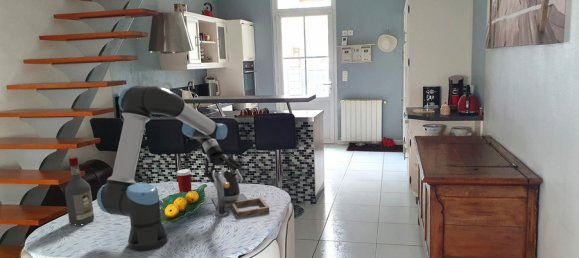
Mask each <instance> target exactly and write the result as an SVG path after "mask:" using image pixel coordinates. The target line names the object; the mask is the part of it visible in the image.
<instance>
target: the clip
mask: <svg viewBox="0 0 579 258" xmlns="http://www.w3.org/2000/svg"><path fill="white" fill-rule="evenodd" d="M224 172H225V171H223V170H220V171H215V172H214V171H213V175H214V177H215V178H216V177H218V179H219V180H220V182H221V183H222V185H223V188H229V182H227V181H226V179H225V178H224Z"/></svg>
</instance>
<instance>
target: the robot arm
mask: <svg viewBox="0 0 579 258" xmlns="http://www.w3.org/2000/svg"><path fill="white" fill-rule="evenodd" d="M118 105H119V109H120V111H122V112H121V116H122V117H123V119H124V121H123V125H122V128H121V133H120V139H119V143H118V148H117V152H116V156H115V160H114V165H113V170H112V174H111V176H109V177H107V179H106V183H105V184H104V185H102V186H101V187H100V188H99V189H98V192H97V194H96V201H97V202H96V203H97V206H98V207H99V209H100V210H101V211H102V212H103V213H106V214H107V213H108V214H109V215H113V216H114V215H115V216H116V215H117V216H122V217H129V220H130V228H129V229H130V231H129V235H128V239H127V245H128V248H129V249H130V250H133V251H138V252H140V251H141V252H144V251H151V250H154V249H158V248H160V247H163V246H164V245H165V244H167V242H168V240H169V236H168V232H167V230H166V228H165V226H164V224H163V222H162V213H161V203H160V195H159V189H158V188H157V187H156V186H155V185H153V184H151V183H146V182H145V183H140V182H139V183H138V182H136V180H135V175H136V170H137V165H138V160H139V157H140V151H141V145H142V141H143V136H144V132H145V128H146V123H148V122H149V121H151V116H152V115H164V116H167V117H169V118H173V119H174V118H176V119H177V120H179V121H181V122H183V124H182V127H181V132H182V133H183V135H184V136H187V137H188V138H192V139H195V140H198V141H199V142H200V144H201V146H202V147H203V150H204V152H205V154H206V156H207V157H205V158H204V160H203V163H204V175H203V177H204V178H207V179H209V181H210V182H211V183H212V184H213V186H214V188H215V189H216V190H217V185H216V177H214V169H215V167H216V166H226V167H227V168H230V169H232V170H234V174H235V173H236V174H237V175H236V178H237V180H238V182H239V183H242V182H243V181H244V178H243V176H242V171H241V168H242V164H240V163H239V162H238V161H237V160H236V159H234V158H233V156H231V155H230V153H226V154H224V153H223V150H222V148H221V147H220V145H219V143H218V141H217V140H224V139H226V138H227V136H228V126H227V125H226V124H225V123H217V122H216V121H214V120H212V119H211V118H209V117H207V116H206V115H204V114H203V113H201V112H200V111H199V110H197V109H195V108H194V107H192V106H190V105H189V104H187V103H186V102H185V99H184V98H182V97H181V96H179V95H178V94H176V93H174V91H171V90H169V89H166V88H165V87H162V86H157V85H151V86H150V85H146V86H145V85H133V86H128V87H126V88H124V89H123V90H122V91H121V93H120V94H119V96H118ZM209 163H211V164H212V165H211V167H210V170H209Z"/></svg>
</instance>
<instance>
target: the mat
mask: <svg viewBox="0 0 579 258" xmlns="http://www.w3.org/2000/svg"><path fill="white" fill-rule="evenodd" d="M247 199H248V198H247V196H246V195H245V194H244V193H243V192H242V193H240V194H239V197H238V198H237V199H236V200H235V201H241V200H247ZM211 200H212V202H213V204H214V206H215V208H216V210H217V211H219V210H218V197H217V196H216V197H212V198H211ZM235 201H233V202H235ZM229 208H231V202H225V209H229Z"/></svg>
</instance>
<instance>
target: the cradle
mask: <svg viewBox="0 0 579 258" xmlns="http://www.w3.org/2000/svg"><path fill="white" fill-rule="evenodd" d="M257 204H258V205H260V206H261V207H257V208H251V209H245V210H239V207H247V206H251V205H253V206H254V205H257ZM230 208H231V209H232V211H233V213H234V214H235V216H236V218H237V219H238V218H244V217H251V216H257V215H262V214H269V213H270V207H269V206H268V204H267V203H266V202H265V200H263V198H262V197H254V198H249V199H248V198H247V200H241V201H235V202H231V207H230Z"/></svg>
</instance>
